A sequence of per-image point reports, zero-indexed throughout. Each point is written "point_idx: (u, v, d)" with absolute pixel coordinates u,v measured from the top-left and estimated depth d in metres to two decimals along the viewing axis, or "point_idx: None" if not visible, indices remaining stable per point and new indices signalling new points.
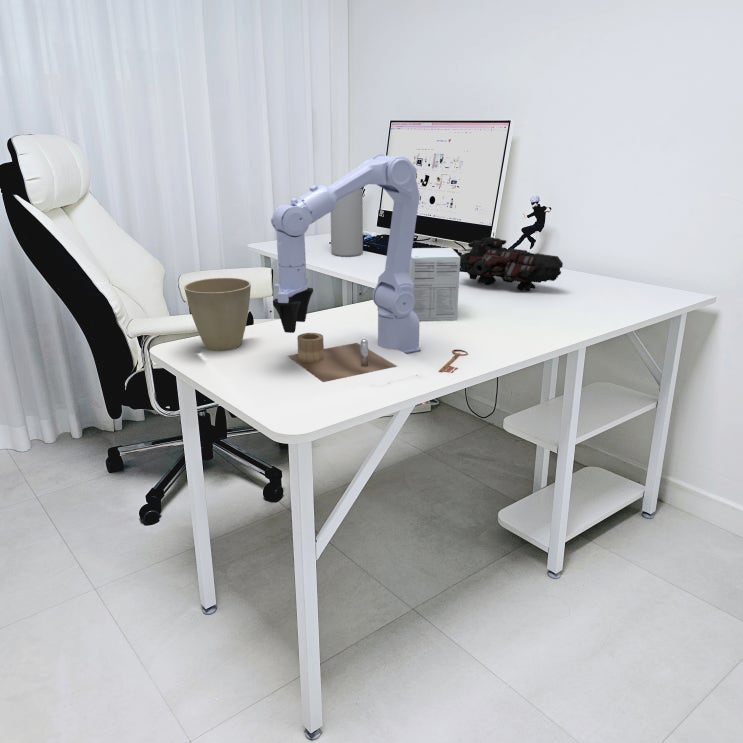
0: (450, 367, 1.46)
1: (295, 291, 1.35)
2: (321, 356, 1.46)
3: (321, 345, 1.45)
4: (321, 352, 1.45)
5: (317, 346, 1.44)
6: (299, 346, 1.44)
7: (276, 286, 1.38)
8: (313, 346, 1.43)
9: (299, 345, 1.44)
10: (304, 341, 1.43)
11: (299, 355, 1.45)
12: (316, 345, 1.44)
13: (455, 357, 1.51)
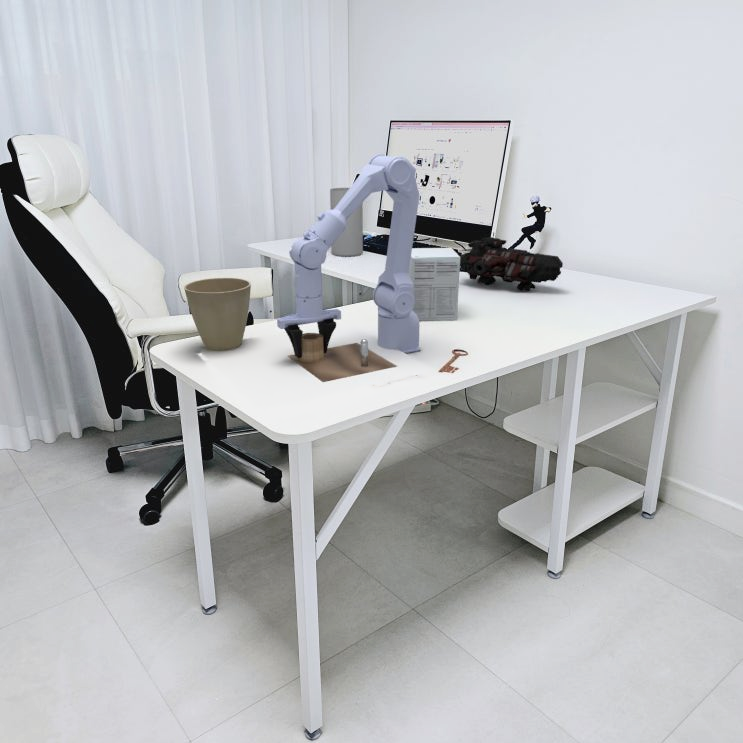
0: (450, 367, 1.46)
1: (296, 320, 1.40)
2: (321, 356, 1.46)
3: (321, 345, 1.45)
4: (321, 352, 1.45)
5: (317, 346, 1.44)
6: None
7: None
8: (313, 346, 1.43)
9: None
10: (304, 341, 1.43)
11: None
12: (316, 345, 1.44)
13: (455, 357, 1.51)
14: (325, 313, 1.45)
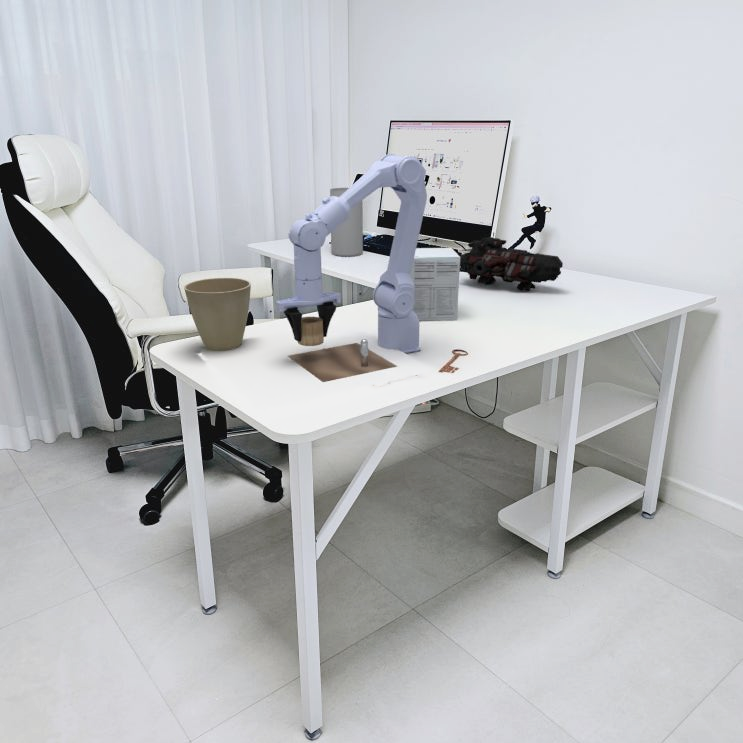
0: (450, 367, 1.46)
1: (295, 303, 1.39)
2: (321, 340, 1.44)
3: (321, 329, 1.43)
4: (321, 336, 1.44)
5: (316, 329, 1.42)
6: None
7: None
8: (313, 329, 1.42)
9: None
10: (304, 324, 1.42)
11: None
12: (316, 328, 1.42)
13: (455, 357, 1.51)
14: (325, 296, 1.44)
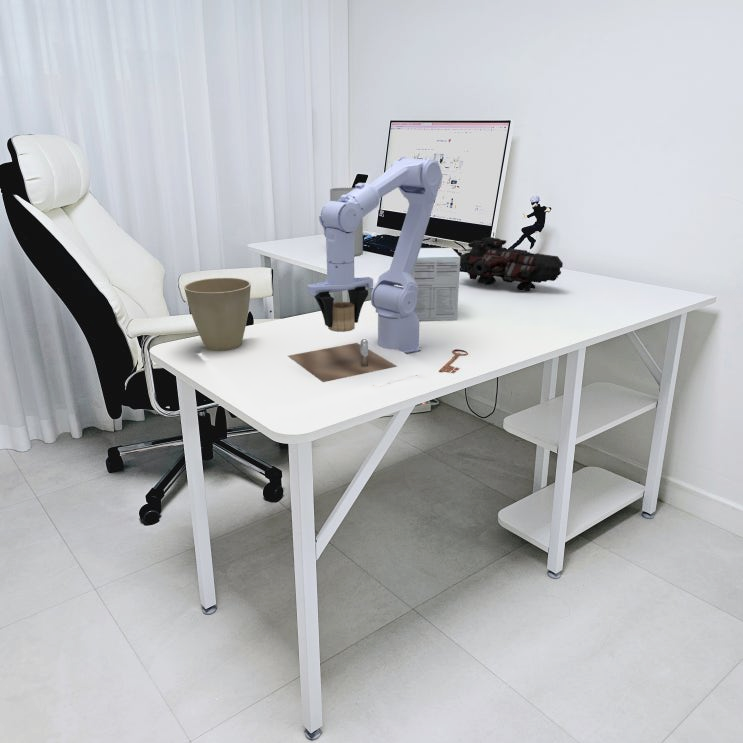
0: (450, 367, 1.46)
1: (327, 287, 1.35)
2: (352, 325, 1.40)
3: (352, 314, 1.39)
4: (352, 321, 1.40)
5: (348, 315, 1.38)
6: None
7: None
8: (344, 314, 1.38)
9: None
10: (335, 309, 1.38)
11: None
12: (347, 314, 1.38)
13: (455, 357, 1.51)
14: (357, 281, 1.40)
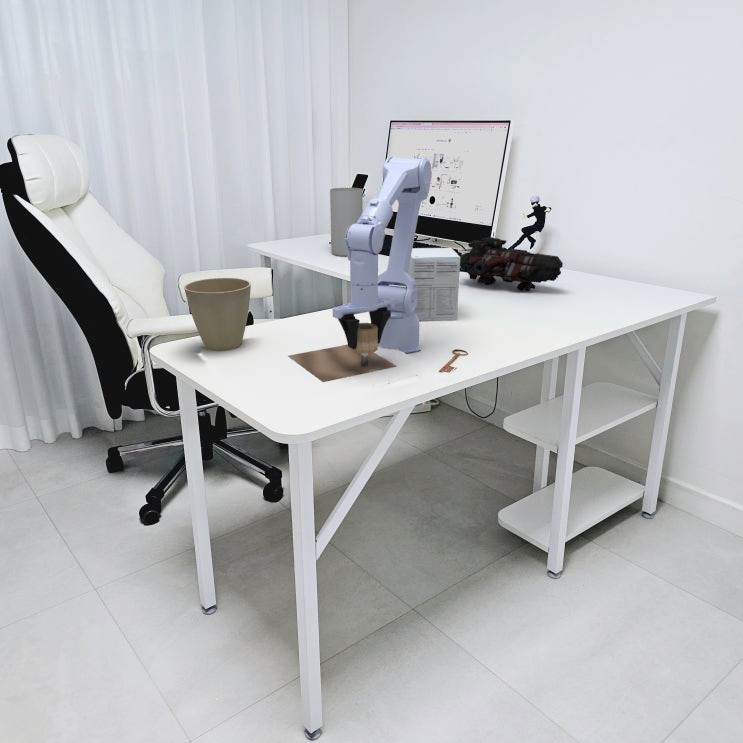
0: (450, 367, 1.46)
1: (352, 309, 1.34)
2: (376, 346, 1.40)
3: (376, 335, 1.39)
4: (376, 342, 1.40)
5: (372, 336, 1.38)
6: None
7: (351, 301, 1.40)
8: (369, 336, 1.38)
9: None
10: (360, 331, 1.37)
11: None
12: (372, 335, 1.38)
13: (455, 357, 1.51)
14: (379, 302, 1.40)
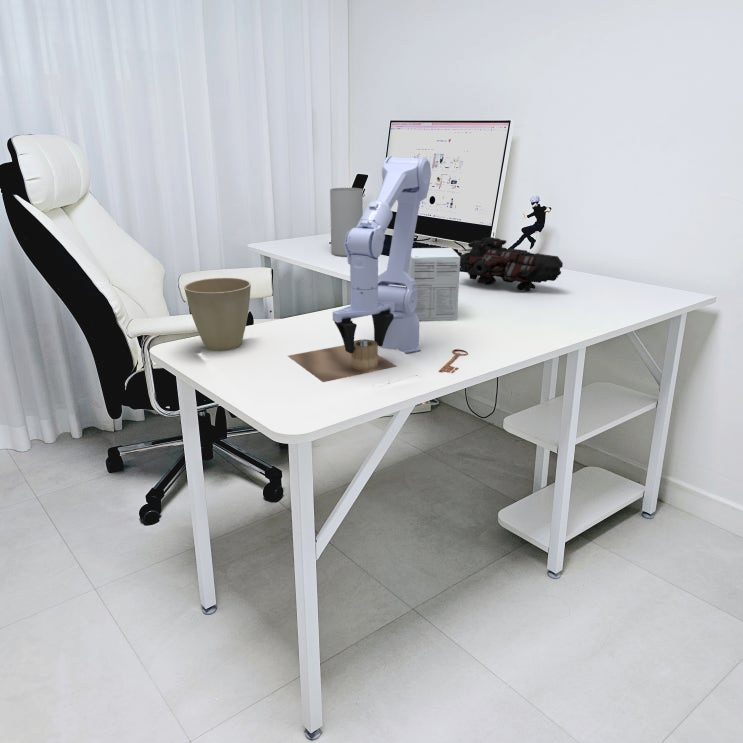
0: (450, 367, 1.46)
1: (352, 313, 1.35)
2: (376, 363, 1.41)
3: (376, 352, 1.41)
4: (376, 359, 1.41)
5: (372, 353, 1.40)
6: (354, 353, 1.40)
7: None
8: (369, 353, 1.39)
9: (354, 352, 1.40)
10: (360, 348, 1.39)
11: (353, 363, 1.41)
12: (372, 352, 1.39)
13: (455, 357, 1.51)
14: (379, 305, 1.40)
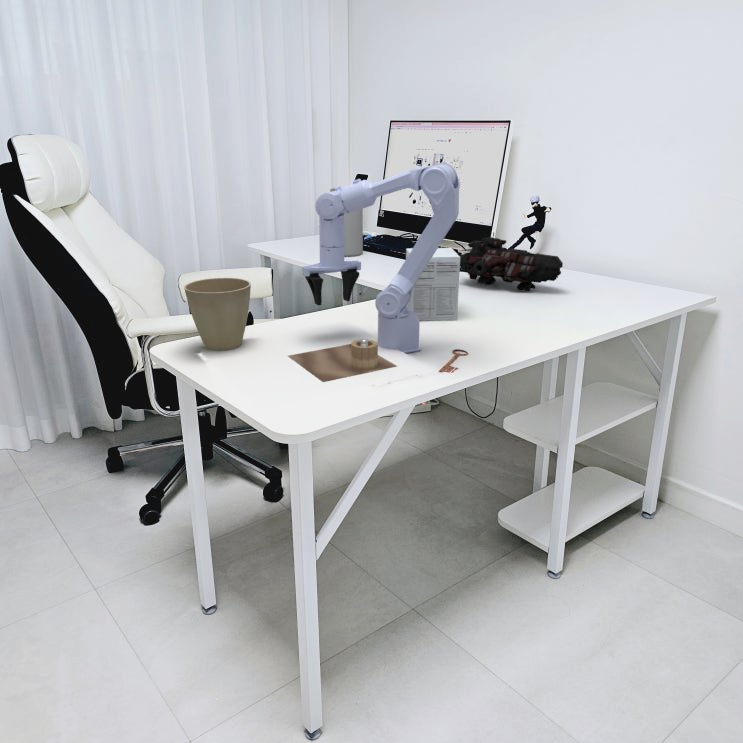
0: (450, 367, 1.46)
1: (320, 268, 1.50)
2: (376, 363, 1.41)
3: (376, 352, 1.41)
4: (376, 359, 1.41)
5: (372, 353, 1.40)
6: (354, 353, 1.40)
7: None
8: (369, 353, 1.39)
9: (354, 352, 1.40)
10: (360, 348, 1.39)
11: (353, 363, 1.41)
12: (372, 352, 1.39)
13: (455, 357, 1.51)
14: (346, 263, 1.55)
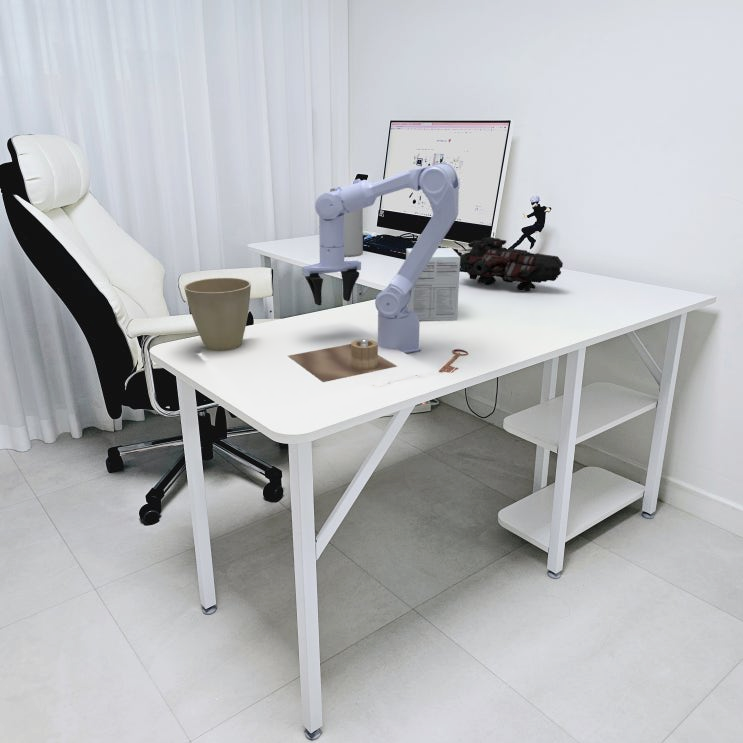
0: (450, 367, 1.46)
1: (320, 268, 1.51)
2: (376, 363, 1.41)
3: (376, 352, 1.41)
4: (376, 359, 1.41)
5: (372, 353, 1.40)
6: (354, 353, 1.40)
7: None
8: (369, 353, 1.39)
9: (354, 352, 1.40)
10: (360, 348, 1.39)
11: (353, 363, 1.41)
12: (372, 352, 1.39)
13: (455, 357, 1.51)
14: (346, 263, 1.55)
